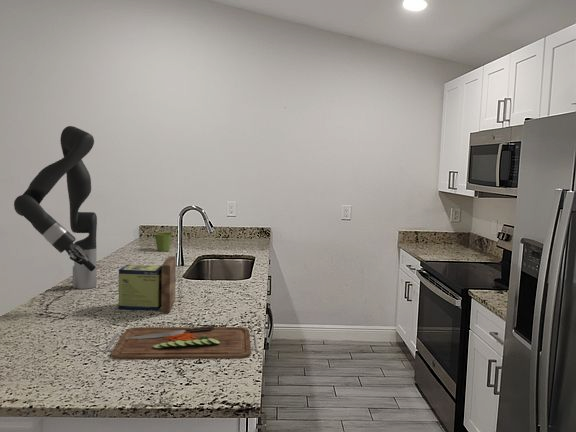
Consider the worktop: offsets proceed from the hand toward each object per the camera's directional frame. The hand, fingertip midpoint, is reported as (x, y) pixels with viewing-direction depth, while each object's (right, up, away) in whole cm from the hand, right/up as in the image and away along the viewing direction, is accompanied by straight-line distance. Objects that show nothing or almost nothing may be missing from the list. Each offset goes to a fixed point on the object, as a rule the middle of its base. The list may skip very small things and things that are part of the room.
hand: (93, 269), depth 197 cm
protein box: (+17, -15, +4) cm, 23 cm away
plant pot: (-6, -2, +136) cm, 136 cm away
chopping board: (+42, -20, -35) cm, 58 cm away
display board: (+27, -15, +6) cm, 31 cm away
